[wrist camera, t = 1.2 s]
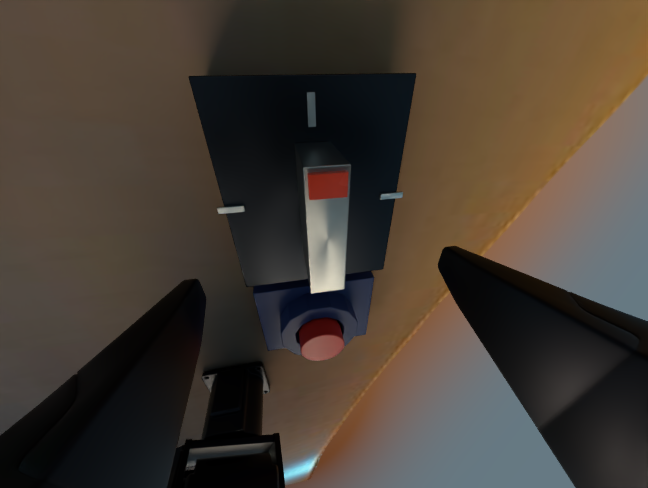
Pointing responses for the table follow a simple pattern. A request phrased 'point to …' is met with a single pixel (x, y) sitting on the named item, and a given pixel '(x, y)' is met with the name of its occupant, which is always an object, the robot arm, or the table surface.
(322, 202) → the grey post red patch
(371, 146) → the dial panel
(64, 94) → the table surface
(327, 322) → the red button
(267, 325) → the button box
